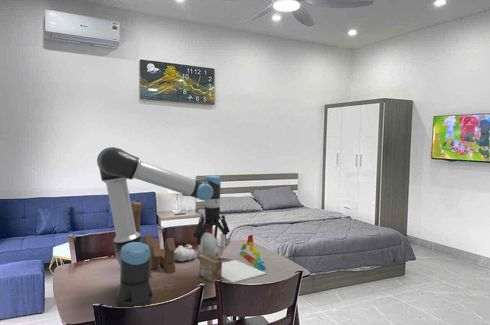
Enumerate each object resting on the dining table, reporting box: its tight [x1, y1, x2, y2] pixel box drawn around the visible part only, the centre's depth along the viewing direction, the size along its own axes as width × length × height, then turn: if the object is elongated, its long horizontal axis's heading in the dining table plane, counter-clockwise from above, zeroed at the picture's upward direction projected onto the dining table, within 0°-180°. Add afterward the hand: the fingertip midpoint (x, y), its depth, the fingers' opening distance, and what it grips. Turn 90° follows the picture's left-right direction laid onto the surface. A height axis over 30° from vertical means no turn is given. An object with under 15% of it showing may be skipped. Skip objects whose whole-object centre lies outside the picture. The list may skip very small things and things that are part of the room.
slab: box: [199, 255, 223, 284], centre depth 182 cm, size 5×12×10 cm, turn 40°
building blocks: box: [131, 201, 177, 278], centre depth 191 cm, size 19×25×35 cm
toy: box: [196, 232, 231, 259], centre depth 214 cm, size 8×15×20 cm
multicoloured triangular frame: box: [239, 234, 266, 271], centre depth 212 cm, size 30×3×15 cm, turn 22°
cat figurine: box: [174, 244, 196, 263], centre depth 209 cm, size 10×8×15 cm
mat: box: [221, 259, 267, 284], centre depth 194 cm, size 22×26×1 cm
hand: (211, 249), depth 182 cm, fingers open, 13 cm apart
